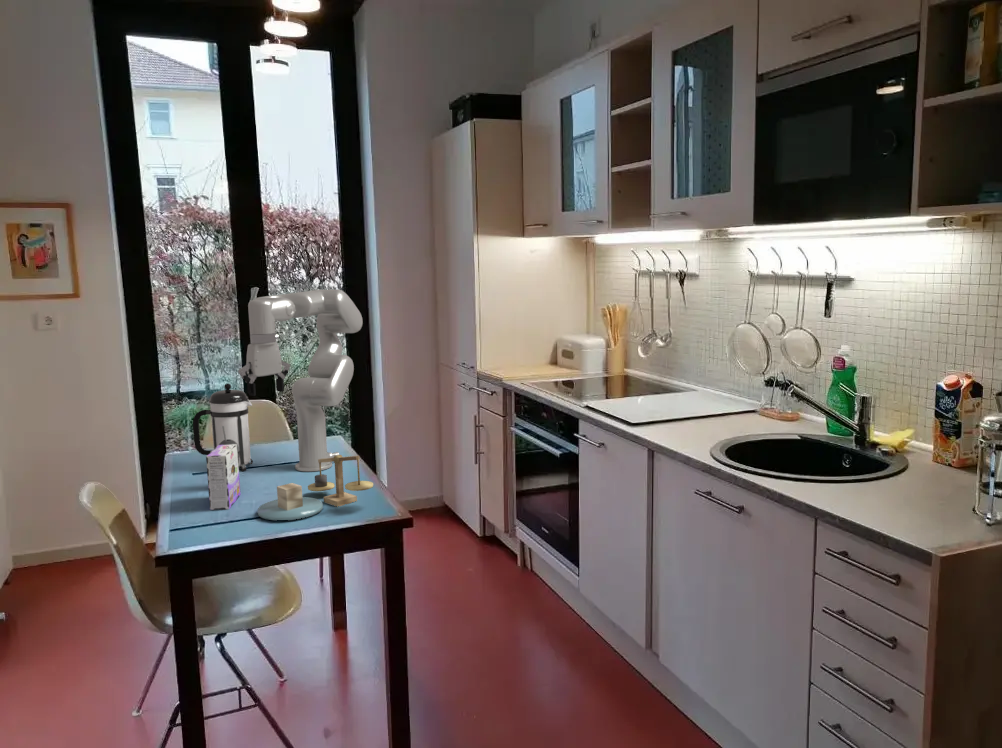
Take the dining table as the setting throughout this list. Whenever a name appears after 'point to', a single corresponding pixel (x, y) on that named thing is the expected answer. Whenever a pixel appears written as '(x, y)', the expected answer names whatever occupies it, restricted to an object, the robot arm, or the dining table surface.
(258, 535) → the dining table surface
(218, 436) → the coffee press
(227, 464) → the candy box
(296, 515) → the dish
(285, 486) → the block
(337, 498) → the balance
